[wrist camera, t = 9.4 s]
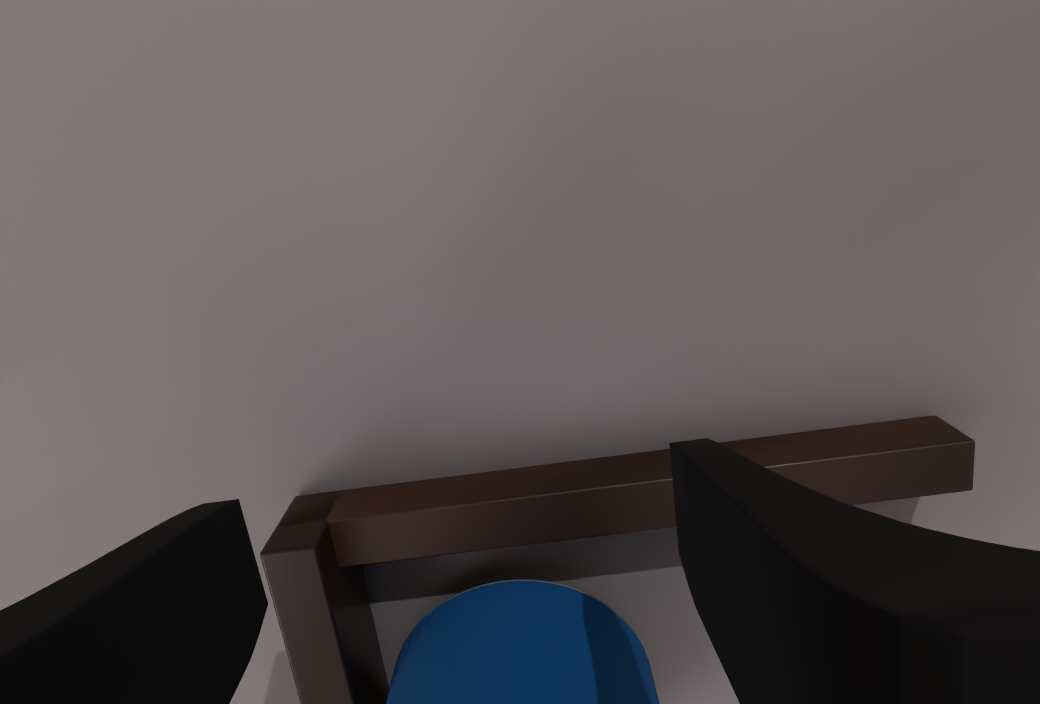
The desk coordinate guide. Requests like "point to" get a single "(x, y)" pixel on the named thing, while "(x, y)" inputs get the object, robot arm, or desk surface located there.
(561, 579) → the desk surface
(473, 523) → the can track
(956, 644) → the robot arm
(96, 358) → the desk surface
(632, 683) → the beverage can
